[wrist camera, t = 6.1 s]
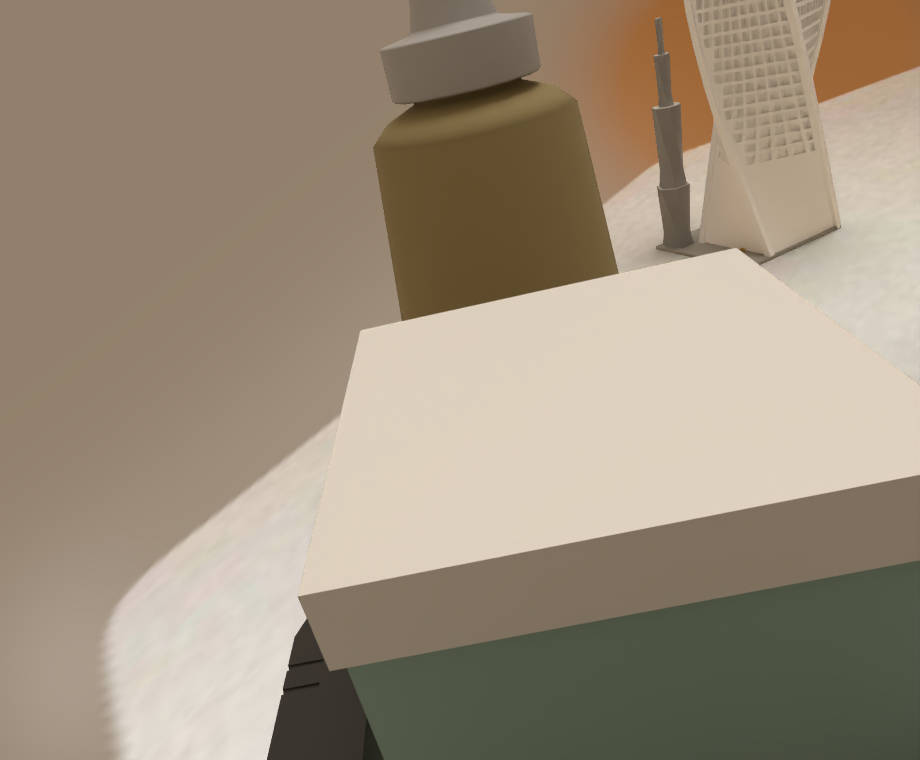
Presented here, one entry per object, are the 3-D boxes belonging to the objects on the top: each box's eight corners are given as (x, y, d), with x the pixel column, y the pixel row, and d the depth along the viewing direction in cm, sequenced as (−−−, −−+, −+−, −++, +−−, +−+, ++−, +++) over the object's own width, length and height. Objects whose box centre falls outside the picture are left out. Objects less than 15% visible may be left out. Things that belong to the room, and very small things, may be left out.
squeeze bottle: (392, 476, 28) (222, -66, 20) (503, 375, 33) (404, -81, 25) (586, 522, 23) (462, -171, 15) (677, 394, 28) (622, -160, 20)
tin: (763, 777, 15) (735, 247, 10) (918, 1130, 10) (1013, 455, 5) (510, 820, 15) (361, 330, 10) (545, 1180, 10) (297, 596, 5)
